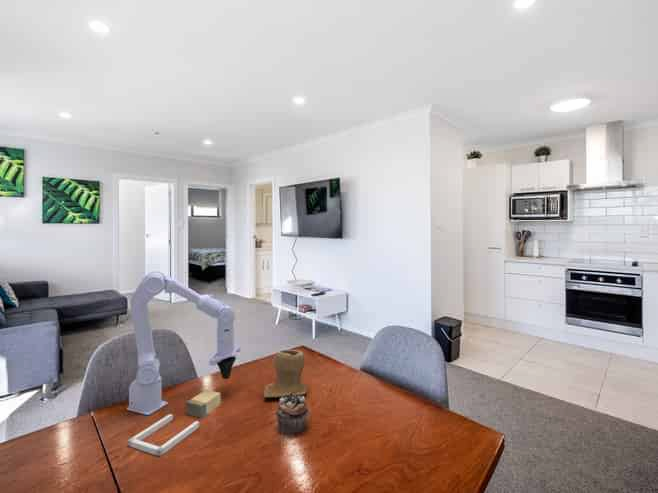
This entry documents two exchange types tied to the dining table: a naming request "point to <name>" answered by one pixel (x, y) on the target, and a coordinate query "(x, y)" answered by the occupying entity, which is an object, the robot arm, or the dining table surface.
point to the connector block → (203, 403)
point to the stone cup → (287, 374)
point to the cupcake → (292, 414)
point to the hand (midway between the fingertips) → (225, 378)
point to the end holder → (159, 451)
